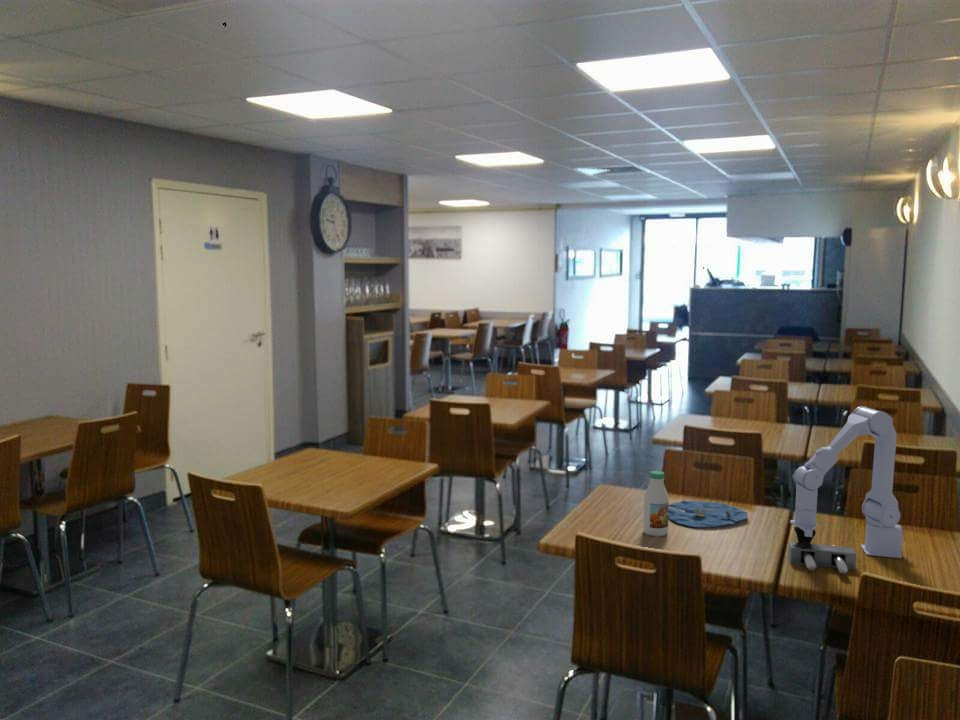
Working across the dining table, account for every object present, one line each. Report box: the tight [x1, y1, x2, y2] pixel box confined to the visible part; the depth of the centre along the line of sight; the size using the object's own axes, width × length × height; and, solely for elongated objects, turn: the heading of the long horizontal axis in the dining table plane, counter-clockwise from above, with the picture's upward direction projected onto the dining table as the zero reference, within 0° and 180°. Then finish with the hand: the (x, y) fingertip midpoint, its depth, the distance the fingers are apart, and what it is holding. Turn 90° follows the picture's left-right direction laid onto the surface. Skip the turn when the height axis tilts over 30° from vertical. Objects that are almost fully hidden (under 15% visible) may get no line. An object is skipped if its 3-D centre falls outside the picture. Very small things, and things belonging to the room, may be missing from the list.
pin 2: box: [830, 544, 849, 574], centre depth 210 cm, size 13×4×4 cm, turn 164°
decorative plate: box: [668, 500, 749, 529], centre depth 256 cm, size 30×30×5 cm
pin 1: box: [801, 542, 817, 572], centre depth 212 cm, size 13×4×4 cm, turn 165°
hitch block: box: [787, 541, 857, 571], centre depth 214 cm, size 17×5×5 cm, turn 74°
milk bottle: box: [642, 470, 670, 537], centre depth 238 cm, size 8×8×20 cm
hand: (803, 552), depth 220 cm, fingers closed
